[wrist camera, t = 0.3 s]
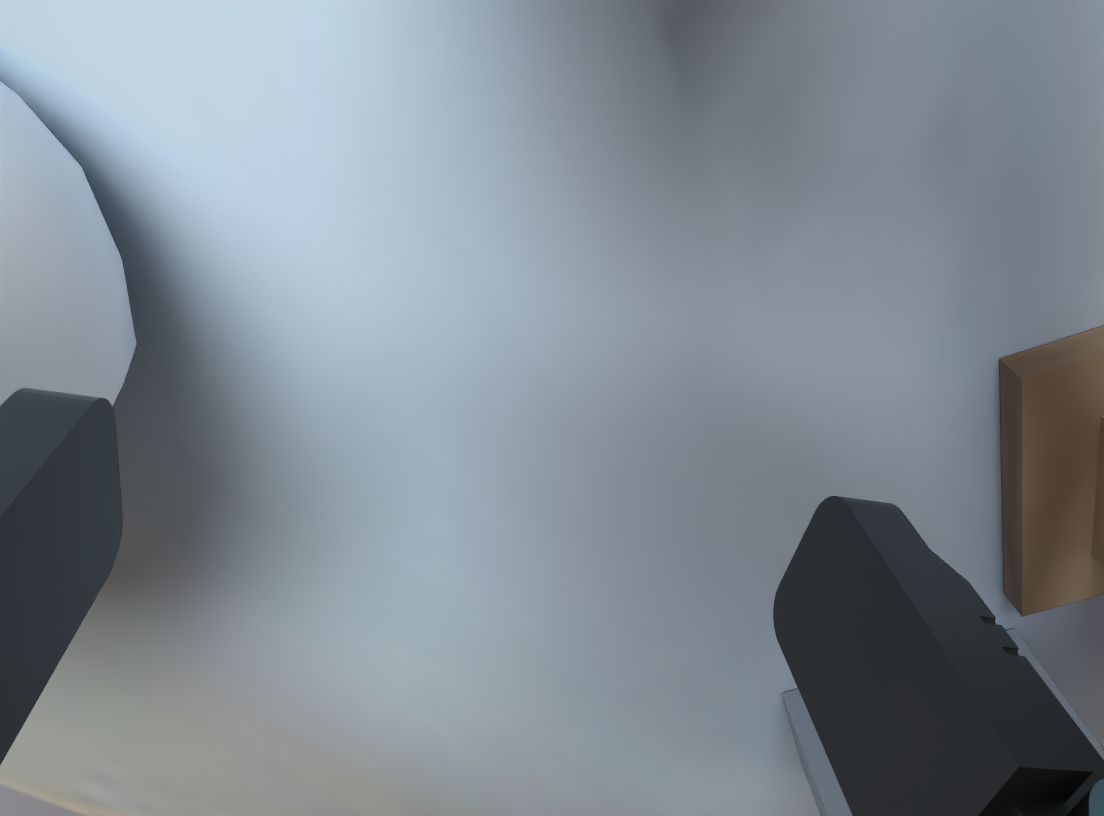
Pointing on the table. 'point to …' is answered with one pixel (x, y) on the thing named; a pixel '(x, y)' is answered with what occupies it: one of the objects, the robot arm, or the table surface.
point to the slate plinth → (820, 769)
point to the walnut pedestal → (1053, 472)
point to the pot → (56, 269)
